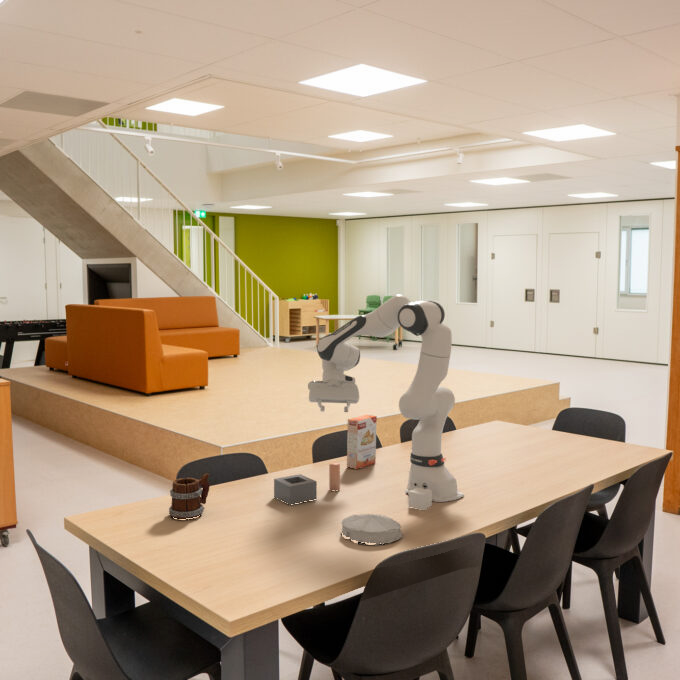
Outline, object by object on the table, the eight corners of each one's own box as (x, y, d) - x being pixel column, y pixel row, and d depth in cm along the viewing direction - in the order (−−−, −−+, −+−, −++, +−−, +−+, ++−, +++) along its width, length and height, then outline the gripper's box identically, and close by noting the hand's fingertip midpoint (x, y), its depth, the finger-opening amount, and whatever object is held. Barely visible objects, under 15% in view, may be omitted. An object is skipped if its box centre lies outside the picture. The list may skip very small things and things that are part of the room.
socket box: (316, 500, 257) (316, 481, 256) (289, 505, 250) (289, 486, 250) (300, 492, 266) (300, 474, 265) (274, 497, 260) (274, 478, 259)
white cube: (416, 503, 254) (417, 487, 254) (431, 506, 251) (432, 490, 250) (408, 508, 249) (408, 491, 249) (423, 511, 246) (423, 494, 245)
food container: (326, 534, 225) (326, 513, 225) (372, 519, 238) (372, 499, 237) (369, 554, 210) (369, 532, 209) (415, 537, 223) (416, 516, 222)
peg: (341, 490, 269) (342, 464, 268) (333, 492, 266) (333, 466, 266) (335, 487, 272) (336, 462, 271) (327, 489, 270) (327, 463, 269)
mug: (159, 514, 240) (165, 470, 240) (194, 512, 250) (200, 469, 250) (178, 523, 232) (184, 477, 232) (214, 520, 242) (219, 476, 242)
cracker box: (357, 470, 296) (358, 420, 294) (346, 467, 300) (346, 419, 298) (376, 463, 307) (377, 415, 305) (365, 460, 311) (365, 413, 309)
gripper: (308, 376, 285) (308, 406, 277) (359, 378, 287) (360, 407, 279) (307, 384, 290) (307, 414, 282) (356, 386, 292) (358, 415, 284)
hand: (334, 411), depth 281 cm, fingers open, 8 cm apart
